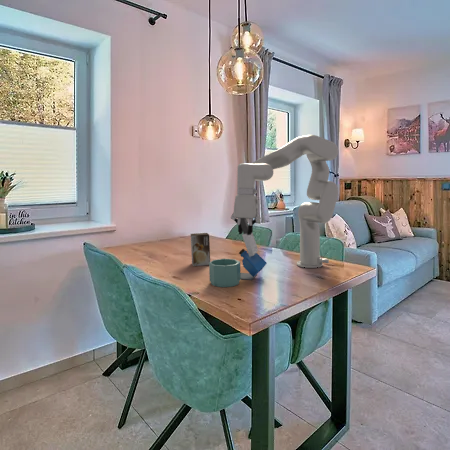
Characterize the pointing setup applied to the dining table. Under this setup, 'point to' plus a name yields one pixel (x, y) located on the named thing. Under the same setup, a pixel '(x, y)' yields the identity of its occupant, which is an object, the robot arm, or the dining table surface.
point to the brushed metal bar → (248, 238)
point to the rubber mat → (247, 276)
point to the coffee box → (200, 249)
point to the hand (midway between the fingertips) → (245, 233)
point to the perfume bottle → (252, 262)
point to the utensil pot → (224, 272)
